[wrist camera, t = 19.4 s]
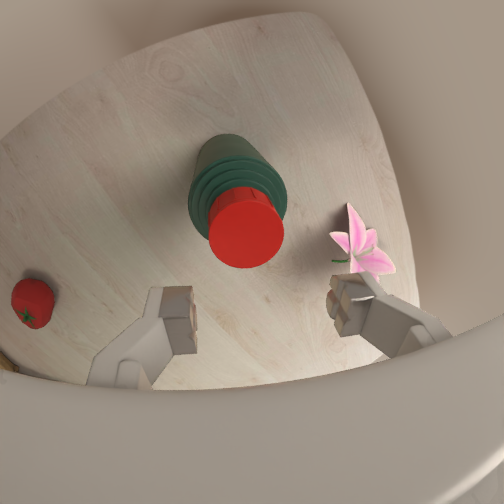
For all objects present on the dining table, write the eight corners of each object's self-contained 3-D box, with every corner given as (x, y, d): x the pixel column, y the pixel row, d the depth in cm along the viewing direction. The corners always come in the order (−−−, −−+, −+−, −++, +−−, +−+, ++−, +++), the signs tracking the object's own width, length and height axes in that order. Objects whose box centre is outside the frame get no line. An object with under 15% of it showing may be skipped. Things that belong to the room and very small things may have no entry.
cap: (206, 187, 15) (206, 202, 13) (275, 185, 15) (286, 199, 13) (210, 248, 17) (211, 270, 15) (272, 245, 17) (281, 266, 15)
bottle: (196, 135, 28) (176, 174, 12) (256, 133, 29) (312, 170, 13) (199, 191, 31) (189, 288, 16) (255, 188, 32) (300, 280, 16)
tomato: (59, 280, 34) (41, 311, 28) (60, 315, 37) (46, 345, 31) (21, 264, 32) (0, 291, 25) (25, 300, 35) (8, 327, 29)
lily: (377, 259, 41) (421, 262, 32) (329, 309, 39) (371, 325, 30) (341, 197, 39) (385, 186, 30) (285, 244, 36) (323, 244, 27)
